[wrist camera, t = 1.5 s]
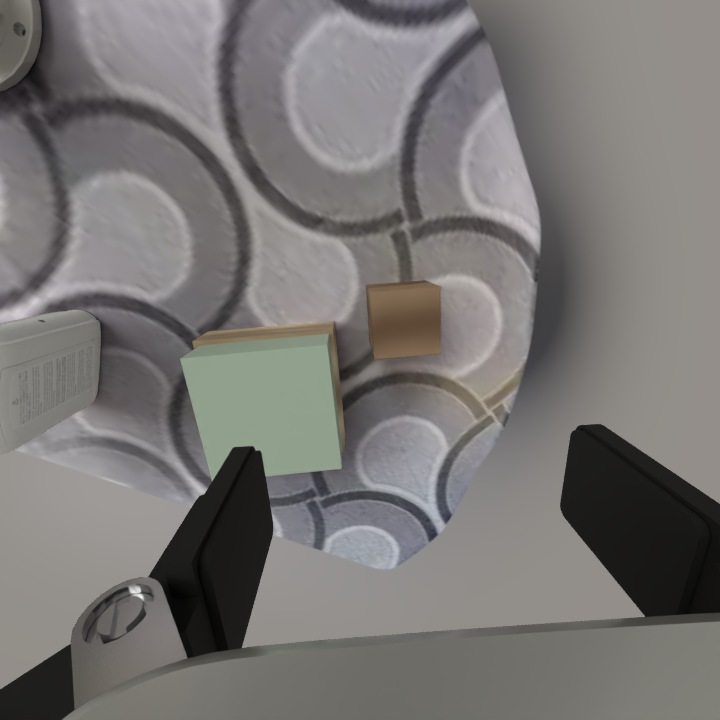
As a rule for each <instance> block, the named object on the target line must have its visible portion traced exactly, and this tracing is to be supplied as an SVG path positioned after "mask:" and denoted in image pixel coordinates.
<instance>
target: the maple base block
mask: <svg viewBox="0 0 720 720" xmlns="http://www.w3.org/2000/svg"><path fill="white" fill-rule="evenodd" d="M320 334H329V338H330V347H331V356H332V364H333V373H334V382H335V390H336V399H337V408H338V416H339V425H340V434H341V443H342V450H345V426H344V416H343V406H342V396H341V386H340V376H339V366H338V356H337V346H336V336H335V326H334V321H328V322H316V323H303V324H291V325H279V326H267V327H255V328H243V329H231V330H219V331H209V332H207V333H205V334H204V335H202V336H200V337H199V338H197V339H195V340H194V341H192V342H193V346H194V349H195V348H197V347H198V346H201V345H212V344H223V343H233V342H244V341H255V340H266V339H276V338H287V337H298V336H309V335H320Z"/></svg>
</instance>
